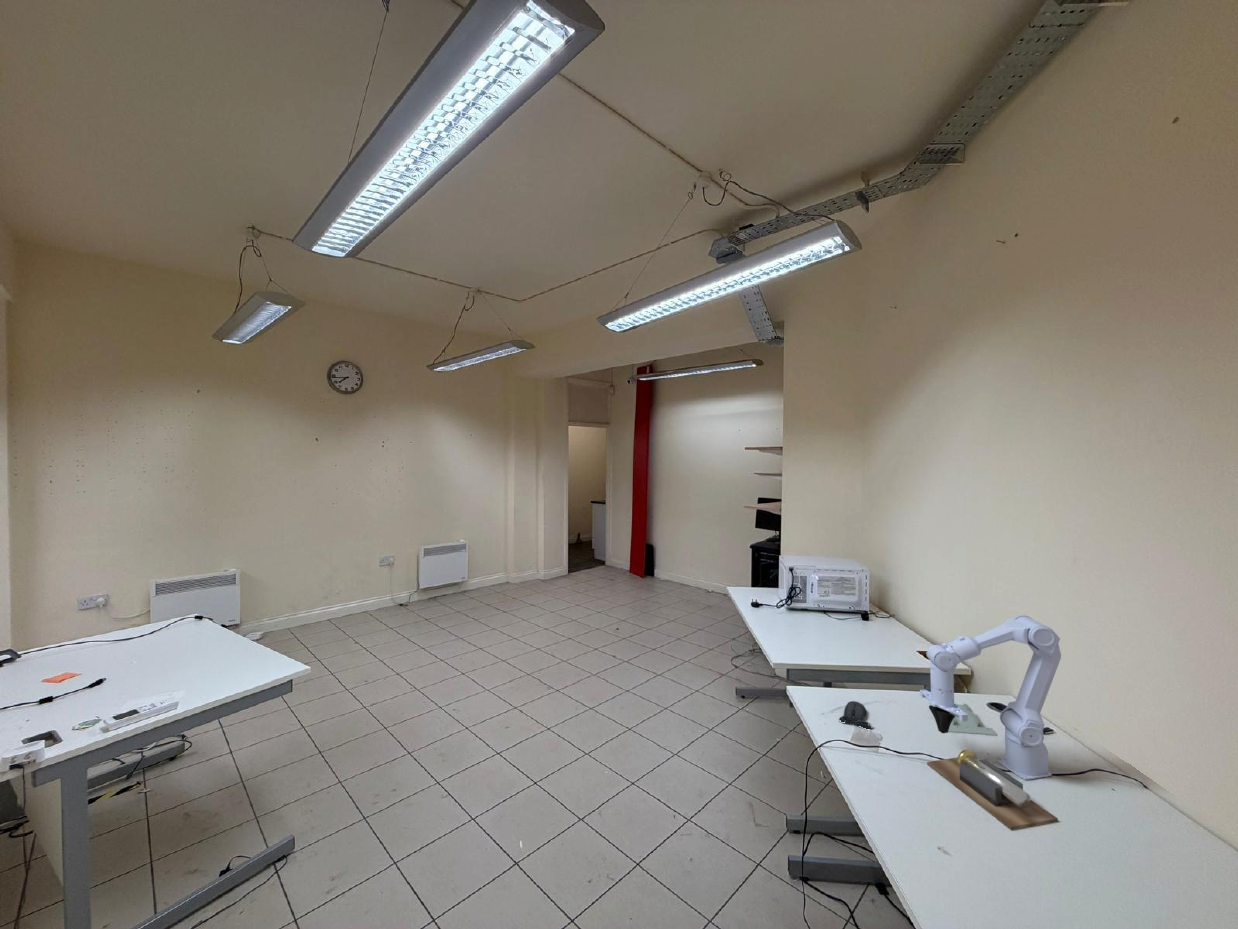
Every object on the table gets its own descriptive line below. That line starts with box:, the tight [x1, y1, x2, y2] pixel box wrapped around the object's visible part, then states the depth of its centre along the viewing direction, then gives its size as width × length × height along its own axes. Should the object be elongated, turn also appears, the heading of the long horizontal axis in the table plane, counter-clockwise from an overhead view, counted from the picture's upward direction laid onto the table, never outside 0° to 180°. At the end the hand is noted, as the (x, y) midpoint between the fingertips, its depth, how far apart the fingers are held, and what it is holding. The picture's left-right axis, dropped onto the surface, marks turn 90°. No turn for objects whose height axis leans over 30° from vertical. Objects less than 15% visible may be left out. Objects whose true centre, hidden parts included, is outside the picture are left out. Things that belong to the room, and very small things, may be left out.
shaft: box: [956, 749, 1031, 808], centre depth 119 cm, size 6×16×6 cm, turn 10°
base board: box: [926, 756, 1059, 831], centre depth 121 cm, size 14×24×1 cm, turn 10°
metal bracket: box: [947, 703, 997, 737], centre depth 152 cm, size 14×6×15 cm
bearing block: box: [959, 758, 1024, 807], centre depth 120 cm, size 9×10×5 cm
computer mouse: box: [838, 700, 873, 730], centre depth 157 cm, size 10×15×4 cm
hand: (943, 731), depth 134 cm, fingers closed
